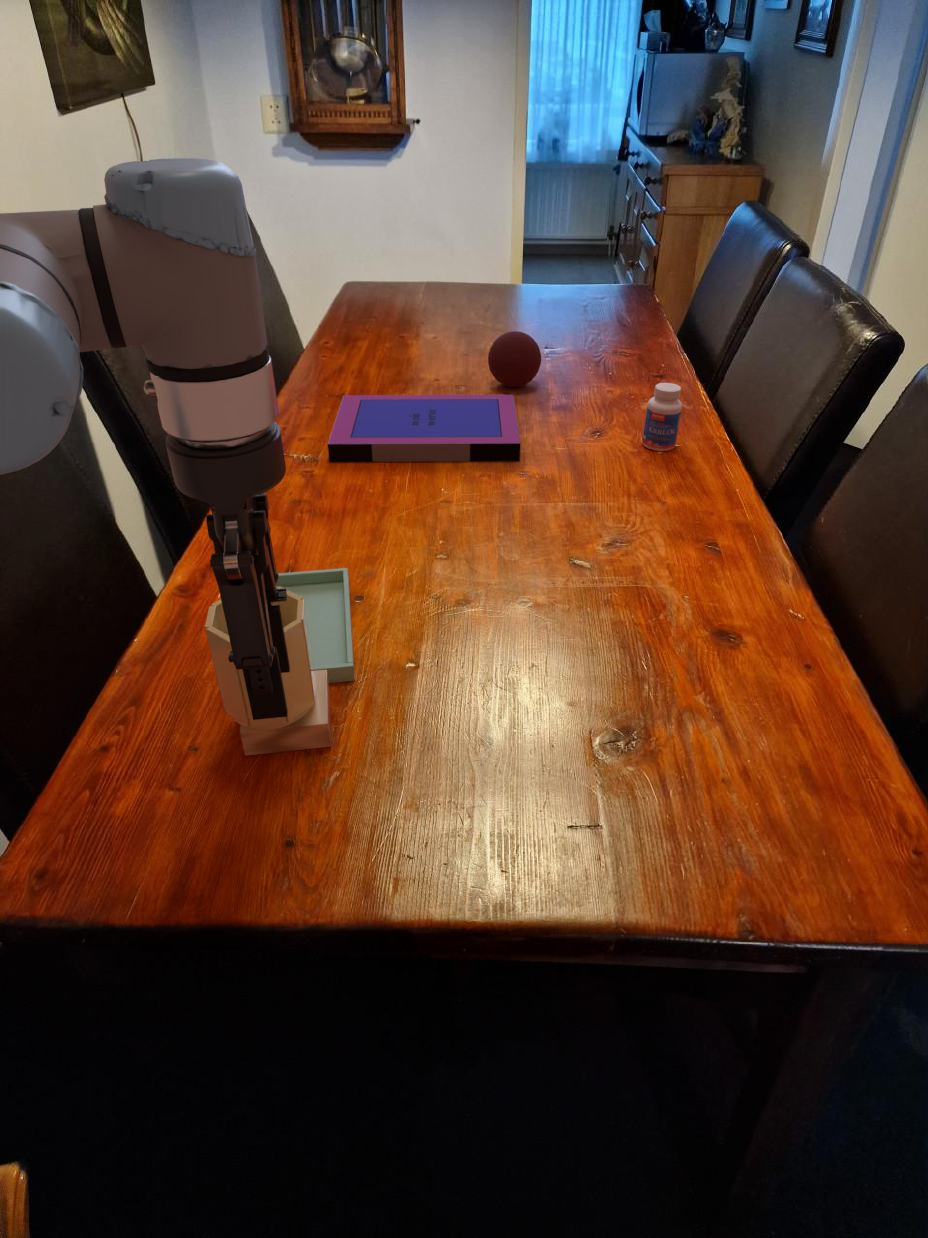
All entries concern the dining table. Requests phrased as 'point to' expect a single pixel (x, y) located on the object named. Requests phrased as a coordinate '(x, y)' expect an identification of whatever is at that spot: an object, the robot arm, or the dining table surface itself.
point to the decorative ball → (514, 359)
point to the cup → (295, 682)
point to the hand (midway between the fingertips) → (272, 691)
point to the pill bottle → (662, 418)
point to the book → (425, 429)
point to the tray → (326, 618)
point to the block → (295, 727)
